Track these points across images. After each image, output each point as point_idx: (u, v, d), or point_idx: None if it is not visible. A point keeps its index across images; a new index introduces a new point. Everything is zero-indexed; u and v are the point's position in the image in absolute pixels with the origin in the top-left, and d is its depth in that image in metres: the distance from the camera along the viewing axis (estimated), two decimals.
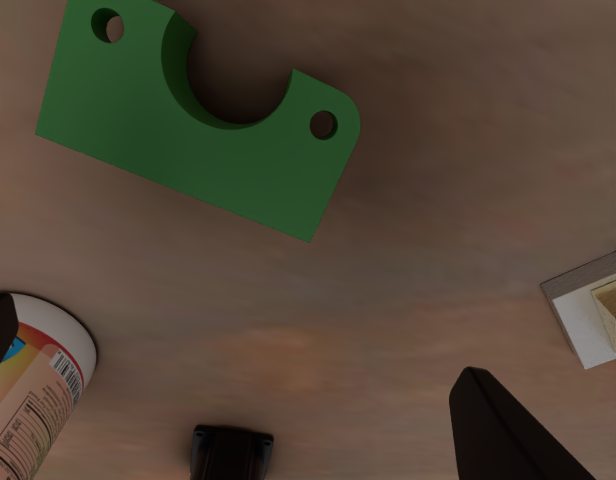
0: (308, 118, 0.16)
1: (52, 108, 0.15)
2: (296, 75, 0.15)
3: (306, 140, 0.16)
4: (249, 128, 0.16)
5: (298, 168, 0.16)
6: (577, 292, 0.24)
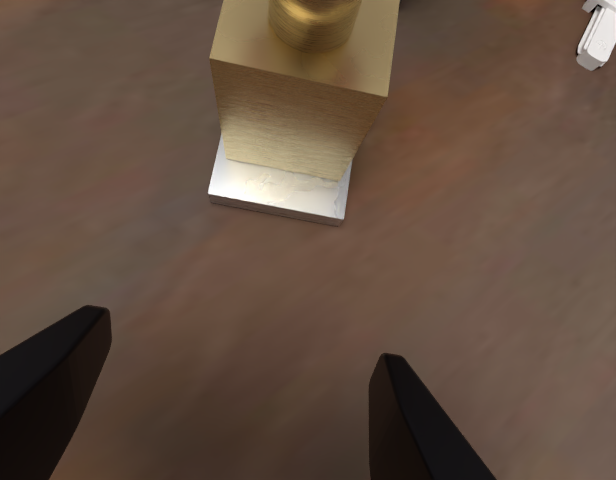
0: None
1: None
2: None
3: None
4: None
5: None
6: (218, 169, 0.21)
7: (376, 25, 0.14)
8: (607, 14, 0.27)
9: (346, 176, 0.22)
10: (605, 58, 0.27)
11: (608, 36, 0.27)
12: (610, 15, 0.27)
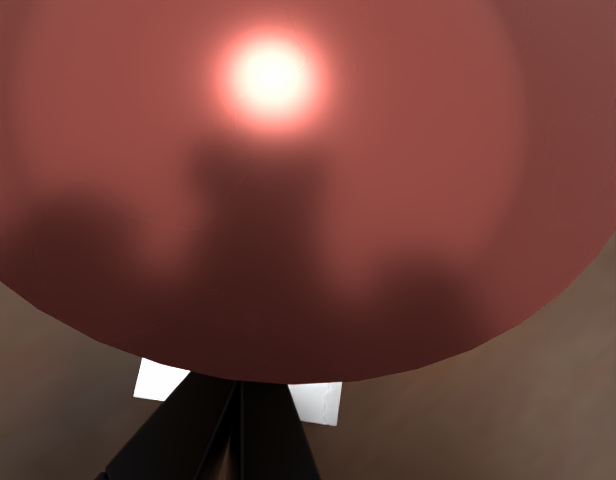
0: None
1: None
2: None
3: None
4: None
5: None
6: None
7: None
8: None
9: None
10: None
11: None
12: None
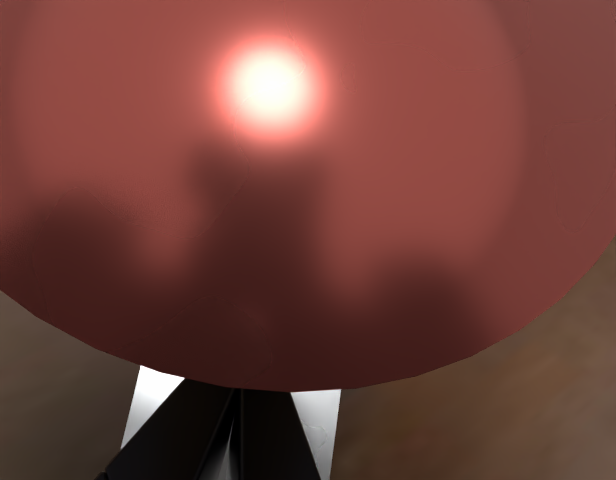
0: None
1: None
2: None
3: None
4: None
5: None
6: None
7: None
8: None
9: None
10: None
11: None
12: None
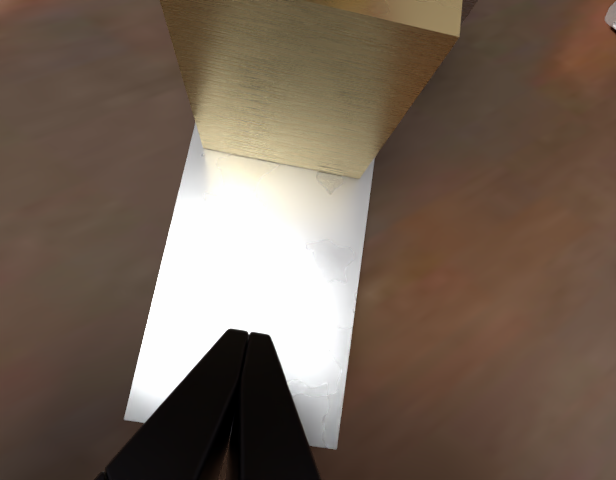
0: None
1: None
2: None
3: None
4: None
5: None
6: (141, 376, 0.14)
7: None
8: None
9: (341, 375, 0.14)
10: None
11: None
12: None
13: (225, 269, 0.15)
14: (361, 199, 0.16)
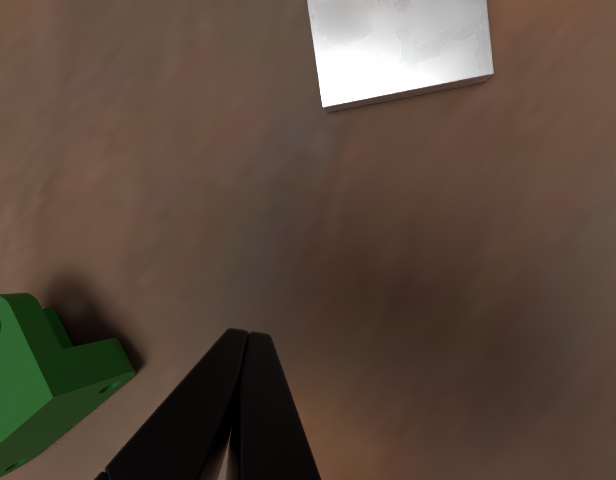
0: None
1: None
2: None
3: None
4: None
5: (5, 364, 0.19)
6: (323, 73, 0.18)
7: None
8: None
9: (482, 12, 0.16)
10: None
11: None
12: None
13: None
14: None
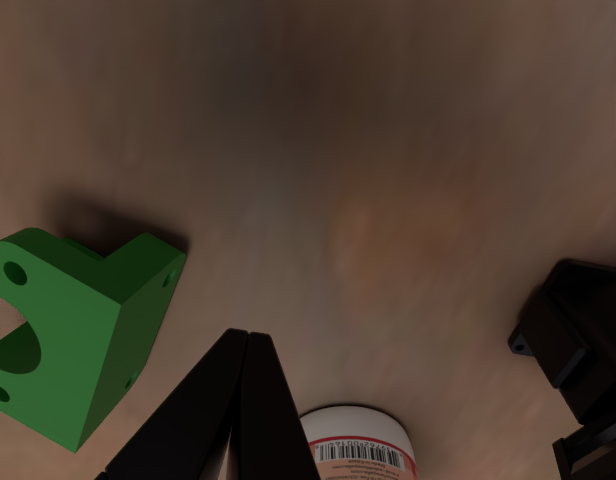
0: (13, 284, 0.17)
1: (56, 439, 0.21)
2: None
3: (31, 289, 0.17)
4: (34, 331, 0.18)
5: (55, 300, 0.17)
6: None
7: None
8: None
9: None
10: None
11: None
12: None
13: None
14: None
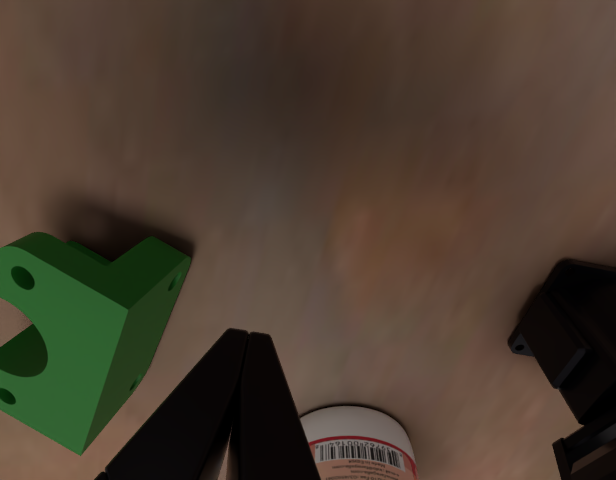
0: (20, 289, 0.17)
1: (62, 441, 0.21)
2: None
3: (38, 294, 0.17)
4: (41, 334, 0.18)
5: (62, 305, 0.17)
6: None
7: None
8: None
9: None
10: None
11: None
12: None
13: None
14: None
